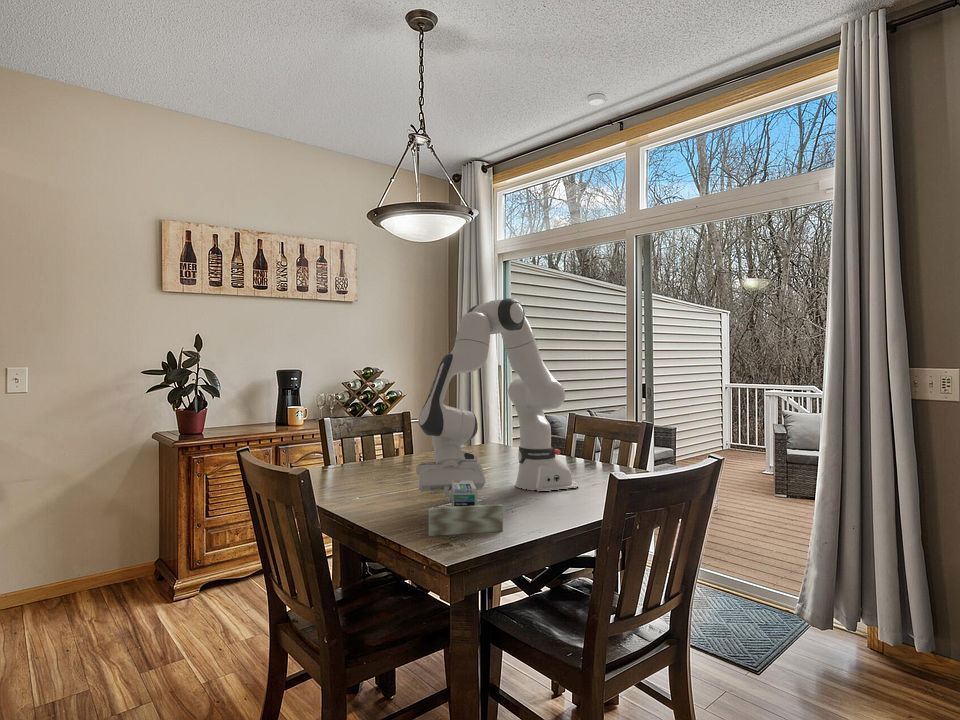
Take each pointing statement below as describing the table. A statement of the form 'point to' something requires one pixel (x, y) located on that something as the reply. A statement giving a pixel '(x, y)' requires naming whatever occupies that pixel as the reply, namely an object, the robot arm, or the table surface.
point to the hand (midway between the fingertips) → (454, 501)
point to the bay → (465, 519)
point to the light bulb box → (463, 493)
